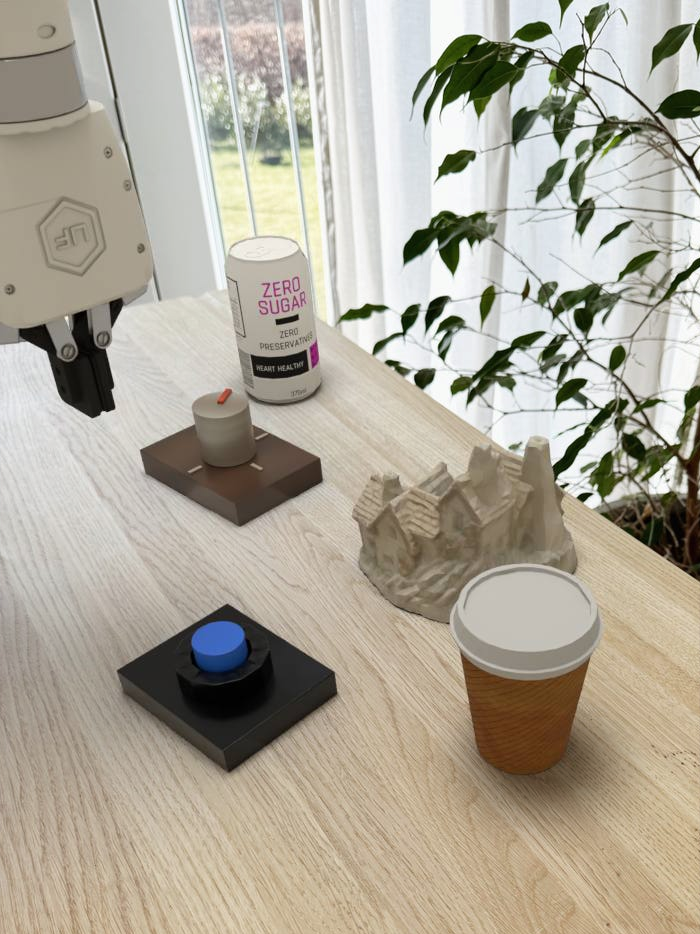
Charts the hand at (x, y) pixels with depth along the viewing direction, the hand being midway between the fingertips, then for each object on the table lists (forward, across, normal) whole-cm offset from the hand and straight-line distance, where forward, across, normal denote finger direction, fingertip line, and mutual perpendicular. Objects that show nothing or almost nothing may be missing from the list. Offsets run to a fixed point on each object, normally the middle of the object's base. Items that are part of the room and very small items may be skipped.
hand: (91, 406), depth 64 cm
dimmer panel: (+20, +19, +14) cm, 31 cm away
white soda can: (+20, +34, +24) cm, 47 cm away
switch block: (+20, 0, -9) cm, 22 cm away
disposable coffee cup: (+20, +10, -28) cm, 36 cm away
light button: (+16, 0, -9) cm, 19 cm away
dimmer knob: (+18, +19, +14) cm, 30 cm away
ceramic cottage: (+20, +23, -12) cm, 33 cm away
